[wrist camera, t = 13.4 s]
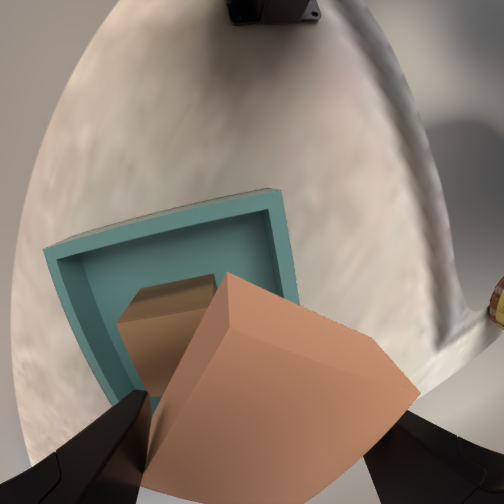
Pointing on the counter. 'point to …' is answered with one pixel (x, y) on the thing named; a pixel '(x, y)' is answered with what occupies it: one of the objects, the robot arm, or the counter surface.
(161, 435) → the terracotta carton
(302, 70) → the counter surface
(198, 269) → the tote
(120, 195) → the counter surface
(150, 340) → the walnut block
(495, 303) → the sauce bottle
